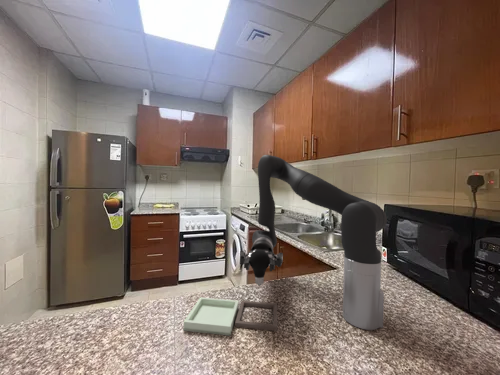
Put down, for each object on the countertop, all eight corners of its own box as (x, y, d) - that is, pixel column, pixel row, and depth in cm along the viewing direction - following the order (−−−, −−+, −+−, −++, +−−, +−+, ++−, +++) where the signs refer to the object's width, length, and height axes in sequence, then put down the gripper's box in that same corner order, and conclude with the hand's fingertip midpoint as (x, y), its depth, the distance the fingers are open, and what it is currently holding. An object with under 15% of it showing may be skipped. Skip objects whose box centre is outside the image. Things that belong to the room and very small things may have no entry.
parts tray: (238, 308, 63) (238, 300, 63) (230, 335, 51) (230, 326, 51) (200, 304, 64) (200, 297, 64) (183, 330, 52) (183, 321, 52)
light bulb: (268, 291, 55) (268, 253, 56) (247, 289, 57) (247, 252, 57) (270, 281, 61) (271, 247, 61) (251, 280, 62) (251, 246, 62)
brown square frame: (276, 306, 64) (276, 303, 64) (277, 331, 53) (277, 327, 53) (241, 303, 65) (241, 300, 65) (234, 326, 54) (235, 322, 54)
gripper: (242, 238, 74) (233, 252, 57) (283, 240, 72) (285, 254, 56) (242, 259, 74) (232, 279, 57) (282, 261, 72) (285, 282, 56)
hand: (259, 267), depth 57 cm, fingers closed on light bulb, 6 cm apart
